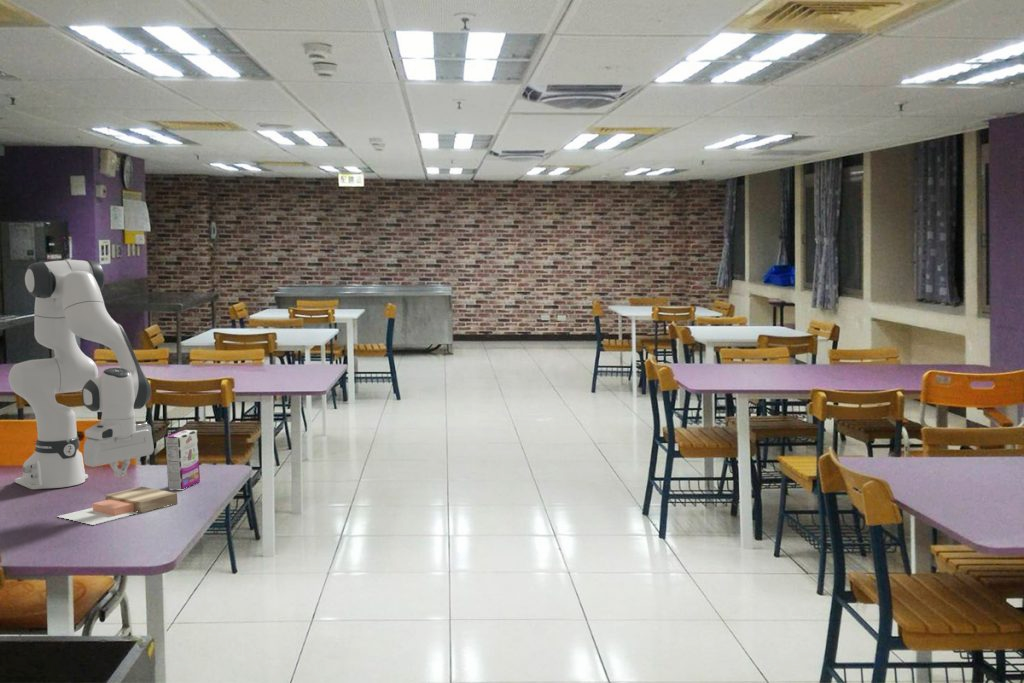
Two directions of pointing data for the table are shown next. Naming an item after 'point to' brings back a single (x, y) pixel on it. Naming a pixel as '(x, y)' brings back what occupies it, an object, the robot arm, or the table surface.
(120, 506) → the salmon pink rectangular block
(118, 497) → the plate
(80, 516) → the mat
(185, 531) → the table surface
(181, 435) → the candy bar box
